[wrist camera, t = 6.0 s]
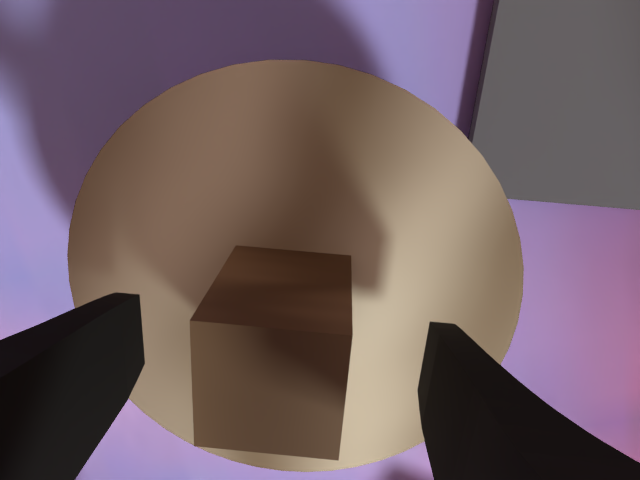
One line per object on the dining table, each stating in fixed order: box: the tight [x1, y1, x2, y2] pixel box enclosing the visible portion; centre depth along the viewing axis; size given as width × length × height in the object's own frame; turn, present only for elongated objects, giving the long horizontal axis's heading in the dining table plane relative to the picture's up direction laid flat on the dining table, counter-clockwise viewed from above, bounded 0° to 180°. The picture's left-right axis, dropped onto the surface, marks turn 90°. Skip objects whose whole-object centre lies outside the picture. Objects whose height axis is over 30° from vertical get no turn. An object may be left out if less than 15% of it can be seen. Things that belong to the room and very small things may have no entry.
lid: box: [68, 60, 523, 472], centre depth 12 cm, size 13×13×5 cm
